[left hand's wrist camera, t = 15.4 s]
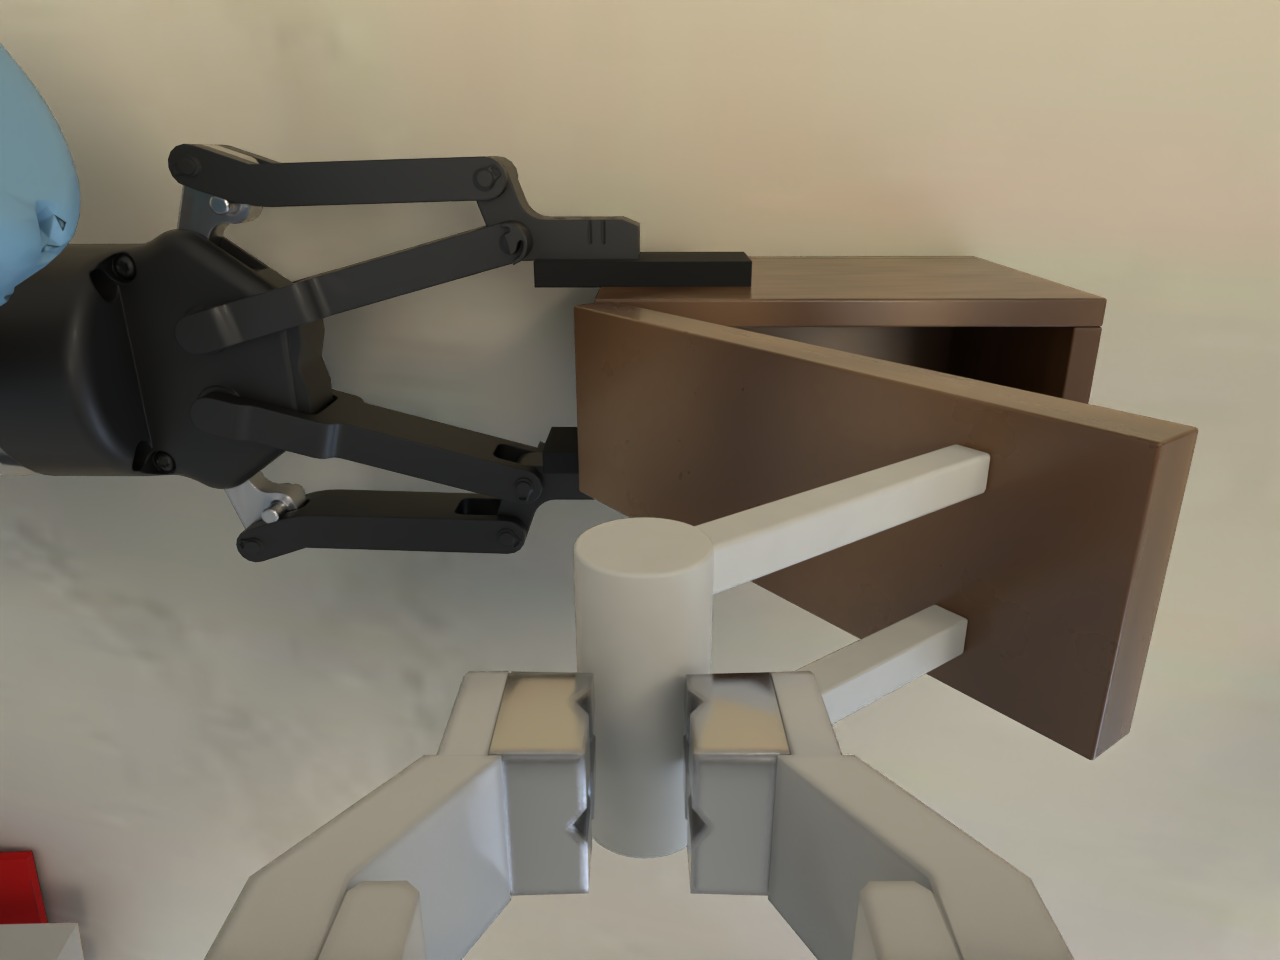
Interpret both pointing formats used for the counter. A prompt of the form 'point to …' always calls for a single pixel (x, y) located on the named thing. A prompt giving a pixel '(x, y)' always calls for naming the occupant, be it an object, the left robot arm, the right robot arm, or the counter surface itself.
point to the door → (852, 538)
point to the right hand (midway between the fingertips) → (742, 362)
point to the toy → (30, 916)
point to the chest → (909, 315)
